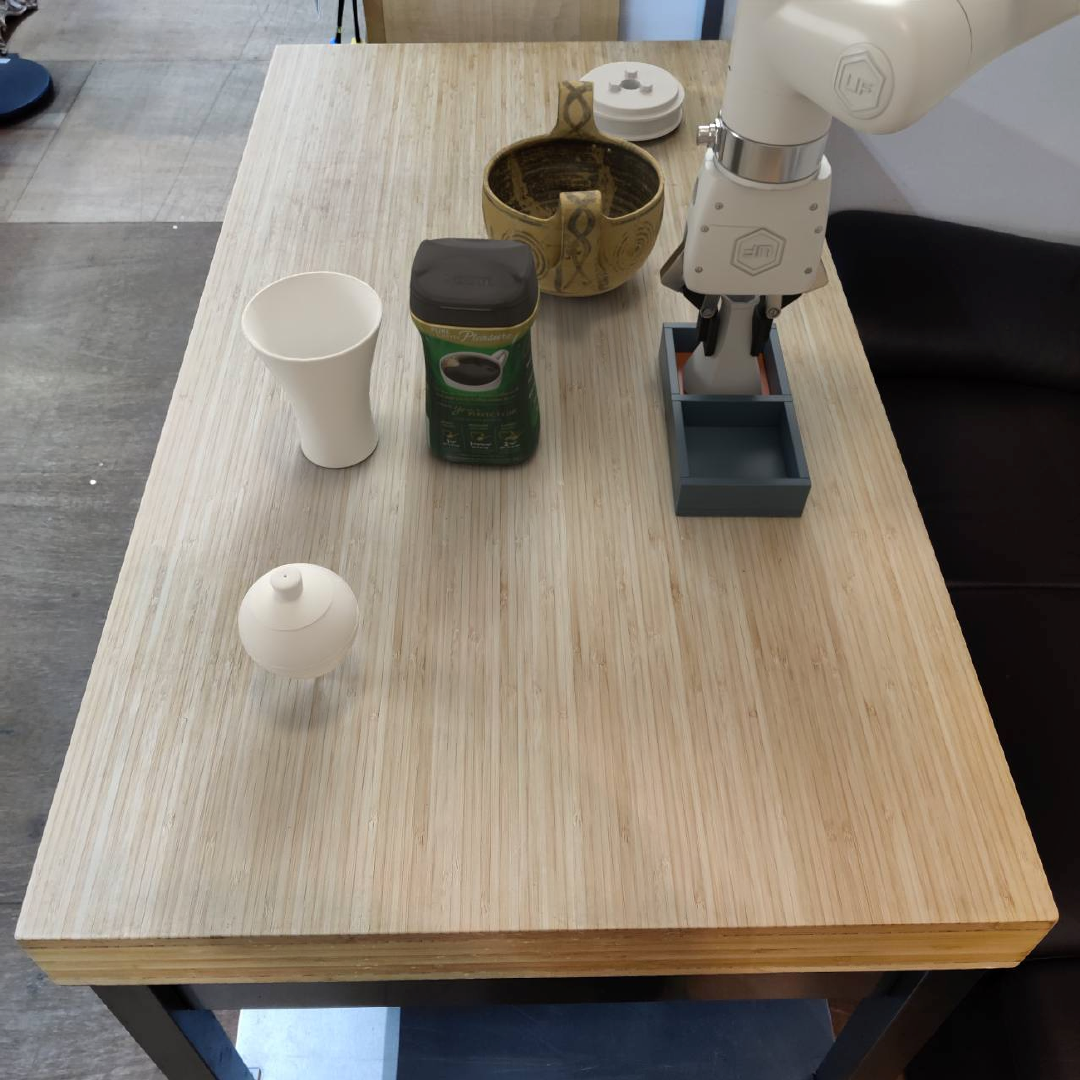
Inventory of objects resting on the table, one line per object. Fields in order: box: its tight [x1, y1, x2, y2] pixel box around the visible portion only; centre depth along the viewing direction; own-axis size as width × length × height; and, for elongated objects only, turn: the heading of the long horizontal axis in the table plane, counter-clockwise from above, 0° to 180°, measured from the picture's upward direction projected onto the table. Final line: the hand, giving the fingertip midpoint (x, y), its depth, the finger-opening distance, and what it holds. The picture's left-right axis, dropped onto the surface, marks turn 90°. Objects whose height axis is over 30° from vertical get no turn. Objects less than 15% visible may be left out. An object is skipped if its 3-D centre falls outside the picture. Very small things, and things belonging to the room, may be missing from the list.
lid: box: [578, 61, 686, 142], centre depth 115 cm, size 13×13×5 cm
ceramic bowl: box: [481, 79, 666, 298], centre depth 92 cm, size 22×17×15 cm
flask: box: [683, 295, 763, 395], centre depth 83 cm, size 7×7×10 cm
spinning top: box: [237, 562, 360, 681], centre depth 65 cm, size 8×8×12 cm
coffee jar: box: [408, 237, 541, 467], centre depth 77 cm, size 10×8×19 cm
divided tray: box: [658, 321, 812, 518], centre depth 83 cm, size 19×10×4 cm, turn 0°
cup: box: [240, 270, 384, 469], centre depth 78 cm, size 10×10×14 cm
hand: (730, 344), depth 83 cm, fingers closed on flask, 3 cm apart
